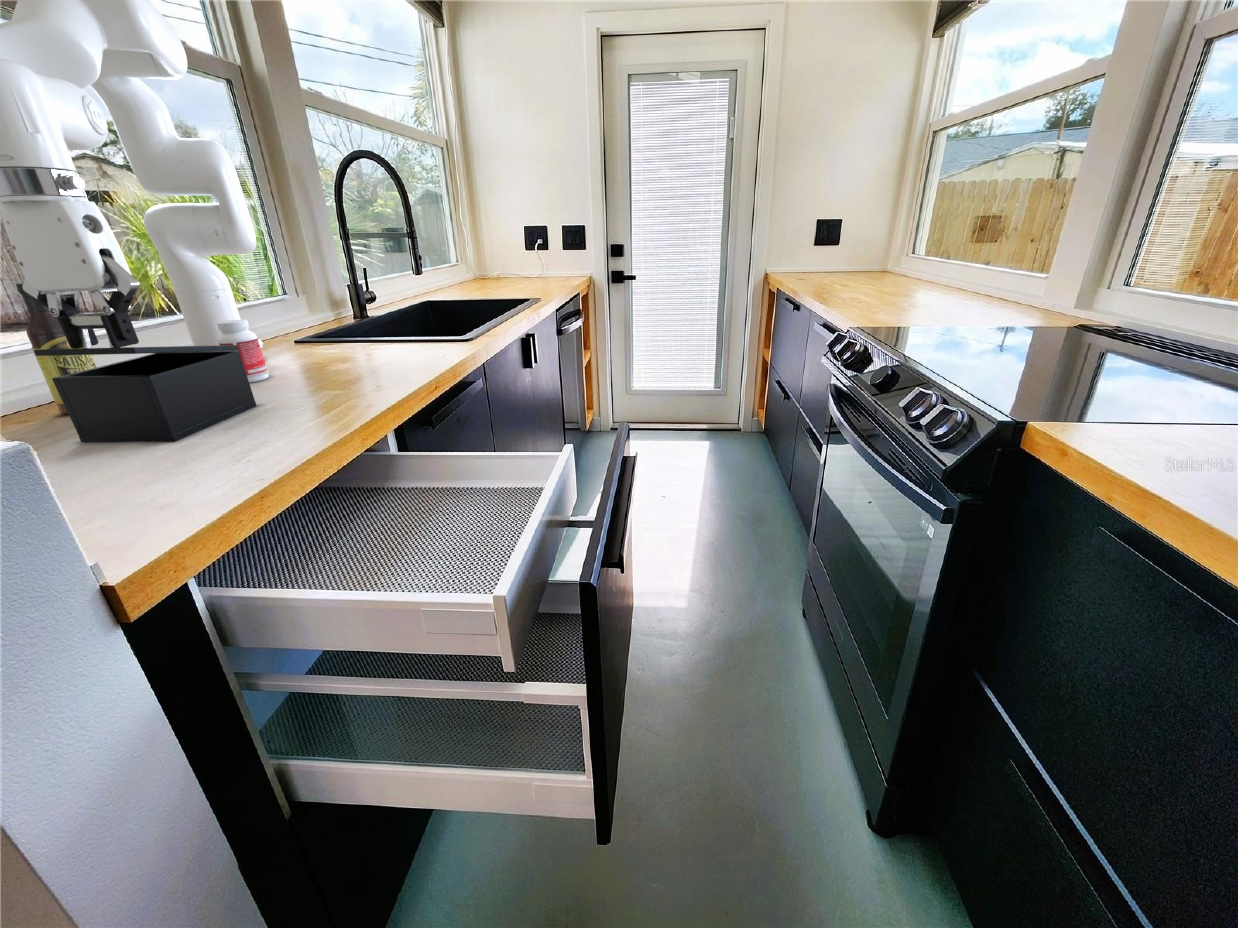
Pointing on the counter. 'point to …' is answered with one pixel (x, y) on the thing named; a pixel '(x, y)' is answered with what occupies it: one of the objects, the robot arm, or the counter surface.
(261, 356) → the pill bottle
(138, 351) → the black box lid
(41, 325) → the sauce bottle
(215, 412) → the black storage box
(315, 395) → the counter surface
